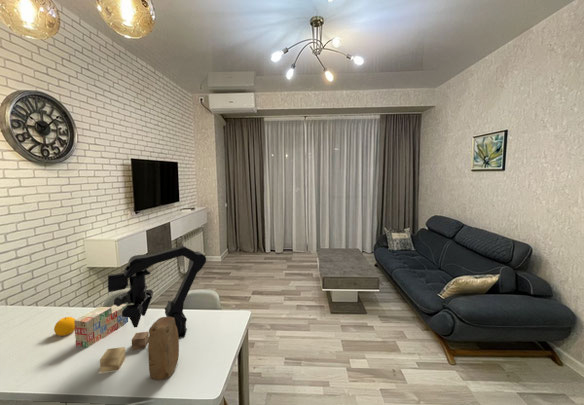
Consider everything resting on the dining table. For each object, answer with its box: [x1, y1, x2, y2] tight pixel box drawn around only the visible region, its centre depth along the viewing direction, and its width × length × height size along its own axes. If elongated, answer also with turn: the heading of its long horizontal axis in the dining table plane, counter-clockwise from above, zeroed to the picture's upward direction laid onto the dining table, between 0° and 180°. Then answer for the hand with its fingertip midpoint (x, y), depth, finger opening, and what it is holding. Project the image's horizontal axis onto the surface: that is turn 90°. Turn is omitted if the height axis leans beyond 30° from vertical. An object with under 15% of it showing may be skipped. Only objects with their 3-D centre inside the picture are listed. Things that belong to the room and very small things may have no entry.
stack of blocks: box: [74, 303, 129, 348], centre depth 119 cm, size 21×6×12 cm, turn 170°
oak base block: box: [99, 346, 126, 372], centre depth 98 cm, size 6×6×5 cm
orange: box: [53, 316, 76, 337], centre depth 119 cm, size 8×8×8 cm
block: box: [147, 316, 180, 381], centre depth 95 cm, size 11×8×20 cm
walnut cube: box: [131, 330, 149, 351], centre depth 110 cm, size 5×5×5 cm
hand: (139, 321), depth 109 cm, fingers open, 9 cm apart
